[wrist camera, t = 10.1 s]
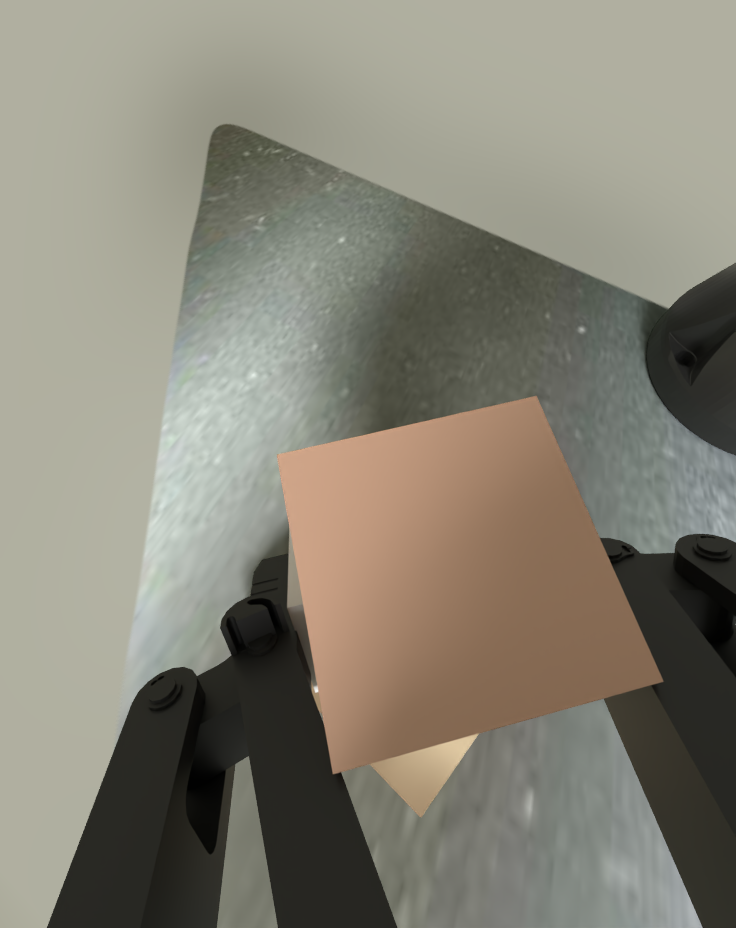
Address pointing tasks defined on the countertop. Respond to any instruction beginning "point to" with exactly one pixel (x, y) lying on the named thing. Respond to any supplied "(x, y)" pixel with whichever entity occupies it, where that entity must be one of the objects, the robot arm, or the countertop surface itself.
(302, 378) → the countertop surface
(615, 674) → the tall block
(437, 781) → the oak picture frame
